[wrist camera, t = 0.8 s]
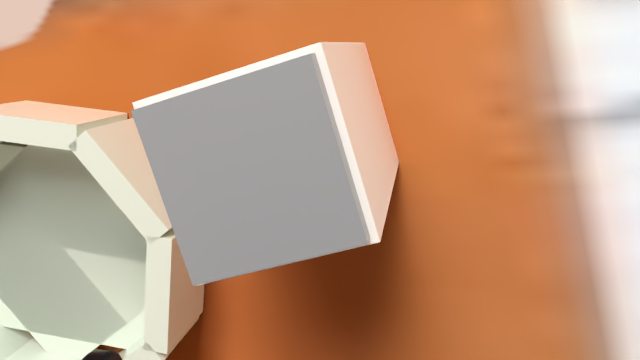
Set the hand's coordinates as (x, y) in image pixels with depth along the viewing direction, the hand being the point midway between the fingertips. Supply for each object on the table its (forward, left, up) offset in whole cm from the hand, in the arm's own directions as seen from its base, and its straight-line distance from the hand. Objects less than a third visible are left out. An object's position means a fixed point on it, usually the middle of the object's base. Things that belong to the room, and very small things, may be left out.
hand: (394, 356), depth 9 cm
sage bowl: (-6, +15, -16) cm, 23 cm away
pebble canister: (+1, +4, -16) cm, 17 cm away
